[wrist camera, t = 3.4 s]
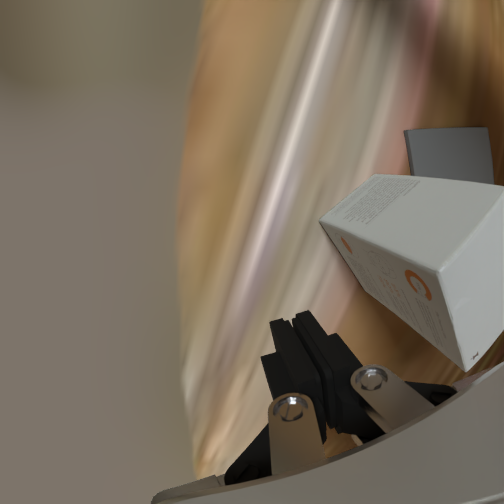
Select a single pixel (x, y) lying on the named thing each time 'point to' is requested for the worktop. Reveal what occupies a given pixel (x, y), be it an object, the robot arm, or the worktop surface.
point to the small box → (429, 256)
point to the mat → (451, 153)
